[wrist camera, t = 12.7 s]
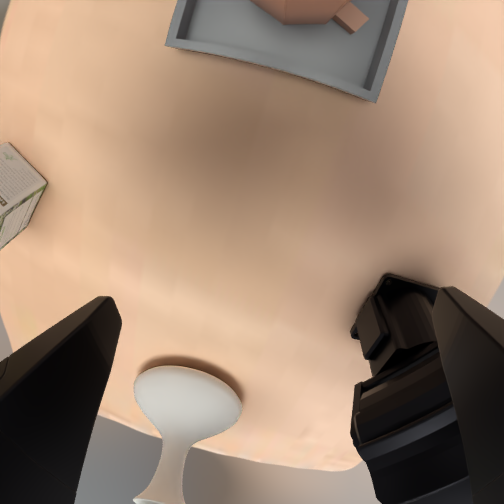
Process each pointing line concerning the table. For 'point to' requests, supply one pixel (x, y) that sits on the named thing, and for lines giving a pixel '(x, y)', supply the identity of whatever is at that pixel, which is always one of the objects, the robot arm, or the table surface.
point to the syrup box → (16, 193)
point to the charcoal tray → (294, 41)
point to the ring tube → (314, 12)
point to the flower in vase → (181, 421)
